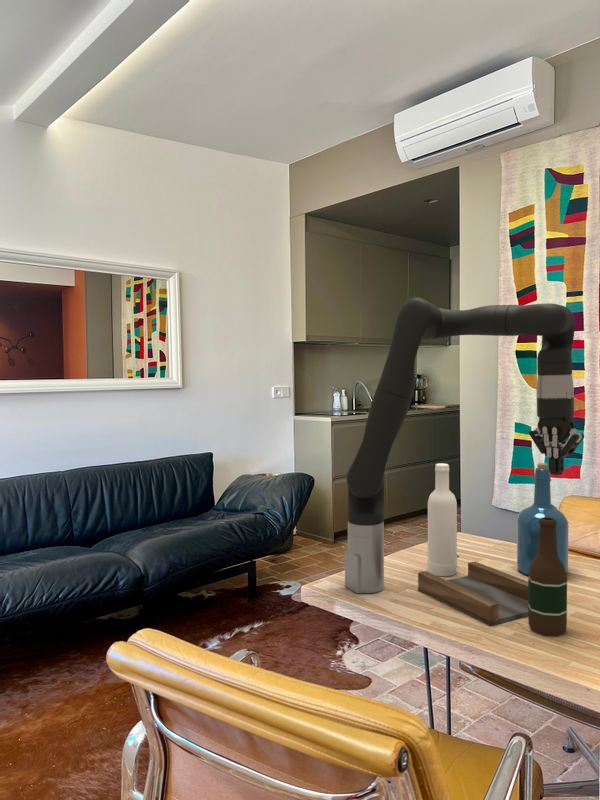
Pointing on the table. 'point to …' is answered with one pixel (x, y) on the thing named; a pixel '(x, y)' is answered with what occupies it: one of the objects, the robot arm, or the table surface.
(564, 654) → the table surface
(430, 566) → the bottle
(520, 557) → the wine bottle
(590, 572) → the table surface
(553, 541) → the beer bottle
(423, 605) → the table surface
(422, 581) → the cradle
